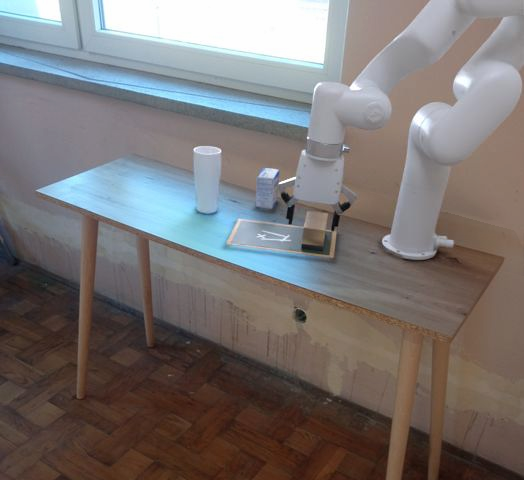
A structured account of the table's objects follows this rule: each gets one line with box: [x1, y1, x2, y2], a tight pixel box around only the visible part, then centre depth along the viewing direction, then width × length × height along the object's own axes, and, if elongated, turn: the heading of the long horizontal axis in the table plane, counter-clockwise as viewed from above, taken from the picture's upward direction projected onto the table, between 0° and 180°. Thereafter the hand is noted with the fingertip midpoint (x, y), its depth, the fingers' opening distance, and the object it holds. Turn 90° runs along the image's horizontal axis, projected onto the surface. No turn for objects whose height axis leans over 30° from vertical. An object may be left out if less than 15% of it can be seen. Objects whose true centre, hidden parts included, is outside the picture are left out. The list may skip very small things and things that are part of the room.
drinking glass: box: [192, 145, 222, 215], centre depth 136 cm, size 7×7×15 cm
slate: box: [225, 218, 338, 259], centre depth 129 cm, size 24×15×1 cm, turn 81°
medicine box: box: [255, 167, 280, 210], centre depth 144 cm, size 8×4×9 cm, turn 168°
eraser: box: [301, 210, 329, 251], centre depth 126 cm, size 5×10×5 cm, turn 171°
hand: (311, 225), depth 125 cm, fingers open, 9 cm apart
